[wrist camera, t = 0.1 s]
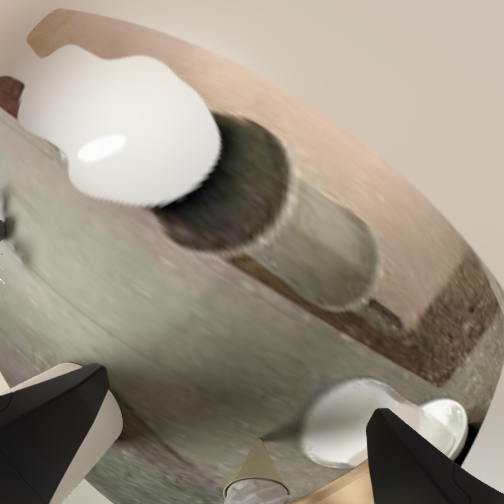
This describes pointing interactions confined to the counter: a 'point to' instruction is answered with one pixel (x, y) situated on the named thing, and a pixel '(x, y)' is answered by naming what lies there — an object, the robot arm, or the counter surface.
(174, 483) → the counter surface
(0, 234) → the bat toy
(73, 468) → the tall pillar cylinder
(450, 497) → the robot arm
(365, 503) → the floor strip
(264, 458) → the ice cream cone
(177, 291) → the counter surface
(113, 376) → the counter surface
